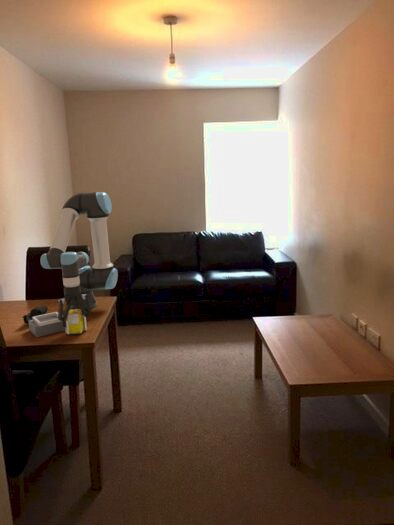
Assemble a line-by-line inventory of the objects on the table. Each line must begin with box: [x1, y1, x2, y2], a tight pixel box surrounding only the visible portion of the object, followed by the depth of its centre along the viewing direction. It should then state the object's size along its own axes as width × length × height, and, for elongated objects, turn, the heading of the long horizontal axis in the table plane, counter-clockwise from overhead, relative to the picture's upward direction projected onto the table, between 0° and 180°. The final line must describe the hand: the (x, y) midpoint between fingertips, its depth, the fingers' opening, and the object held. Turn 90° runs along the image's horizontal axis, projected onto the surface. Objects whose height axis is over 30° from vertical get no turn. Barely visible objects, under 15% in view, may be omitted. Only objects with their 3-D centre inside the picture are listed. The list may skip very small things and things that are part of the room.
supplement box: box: [67, 309, 85, 336], centre depth 202 cm, size 6×6×11 cm
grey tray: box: [28, 311, 67, 338], centre depth 208 cm, size 16×12×6 cm
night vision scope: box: [21, 305, 49, 325], centre depth 221 cm, size 8×18×10 cm
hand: (76, 331), depth 203 cm, fingers closed on supplement box, 8 cm apart
